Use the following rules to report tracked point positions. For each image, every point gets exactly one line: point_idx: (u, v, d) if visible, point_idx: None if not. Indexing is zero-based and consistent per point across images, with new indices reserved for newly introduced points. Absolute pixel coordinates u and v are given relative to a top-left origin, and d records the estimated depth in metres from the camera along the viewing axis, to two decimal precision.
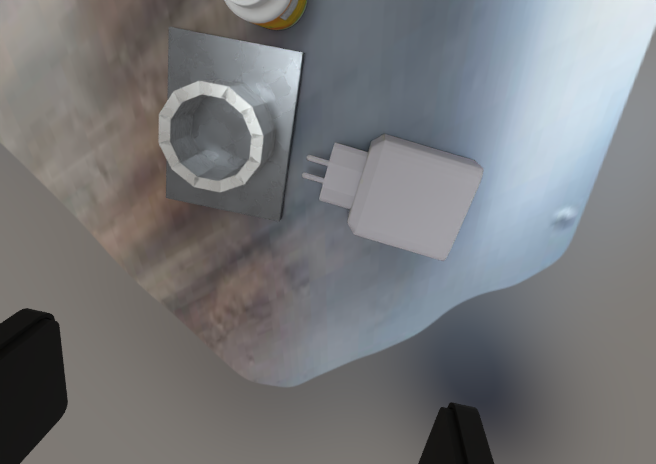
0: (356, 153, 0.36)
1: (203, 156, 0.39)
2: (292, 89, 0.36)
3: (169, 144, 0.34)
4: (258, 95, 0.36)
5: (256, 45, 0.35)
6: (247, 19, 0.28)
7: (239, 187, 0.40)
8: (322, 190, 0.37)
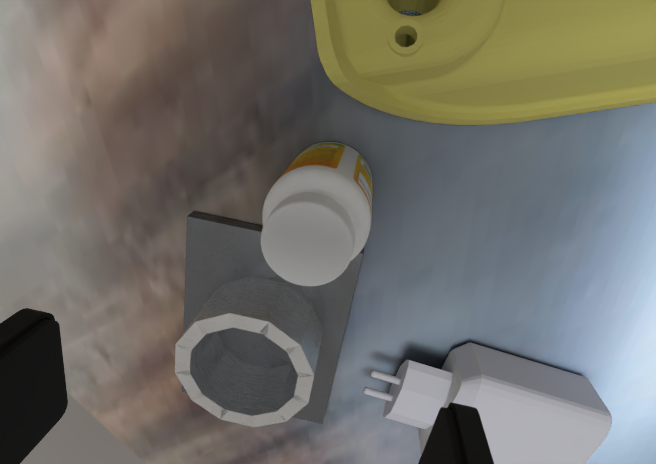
0: (437, 376, 0.28)
1: (229, 354, 0.31)
2: (347, 292, 0.27)
3: (188, 374, 0.26)
4: (302, 296, 0.28)
5: None
6: None
7: None
8: (390, 414, 0.29)
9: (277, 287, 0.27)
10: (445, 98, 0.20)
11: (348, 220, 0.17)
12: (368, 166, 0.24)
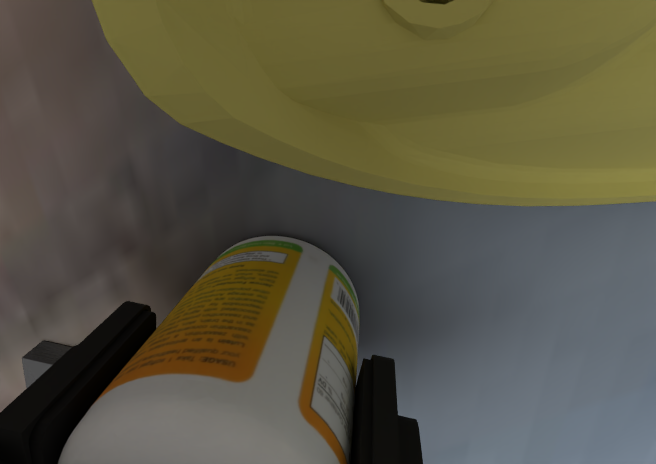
0: None
1: None
2: None
3: None
4: None
5: None
6: None
7: None
8: None
9: None
10: (517, 154, 0.08)
11: None
12: (350, 284, 0.12)
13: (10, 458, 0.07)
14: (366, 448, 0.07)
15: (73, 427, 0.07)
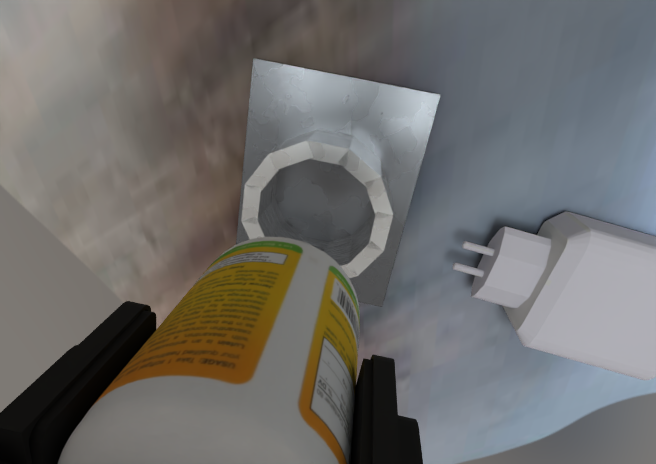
0: (535, 241, 0.26)
1: (287, 225, 0.29)
2: (419, 143, 0.26)
3: (255, 223, 0.25)
4: (371, 150, 0.27)
5: (375, 84, 0.25)
6: None
7: None
8: (483, 288, 0.27)
9: (347, 136, 0.26)
10: None
11: None
12: (350, 285, 0.12)
13: (10, 458, 0.07)
14: (366, 448, 0.07)
15: (73, 427, 0.07)
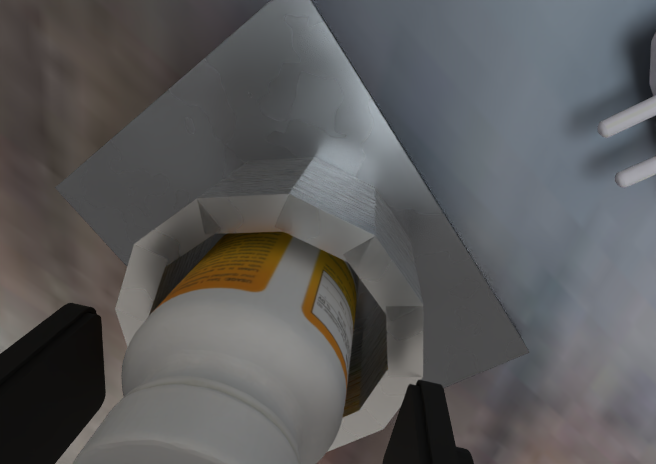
0: None
1: None
2: (342, 78, 0.13)
3: None
4: (289, 157, 0.14)
5: (202, 66, 0.13)
6: None
7: None
8: None
9: None
10: None
11: (274, 452, 0.07)
12: None
13: None
14: None
15: None
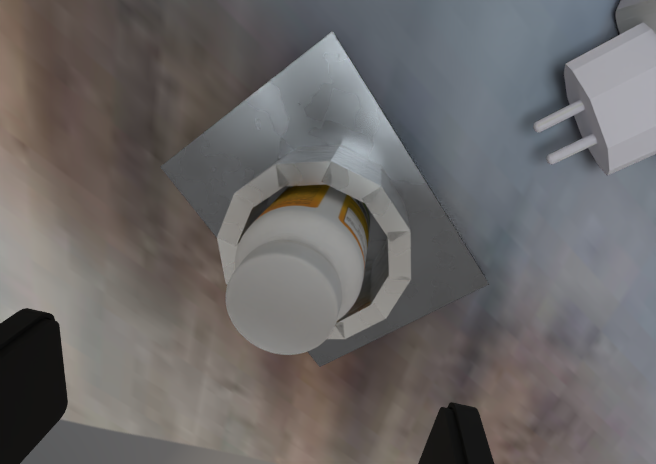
0: (624, 42, 0.17)
1: None
2: (360, 93, 0.20)
3: None
4: (323, 145, 0.21)
5: (268, 85, 0.20)
6: None
7: None
8: (611, 153, 0.18)
9: (287, 154, 0.21)
10: None
11: (330, 271, 0.14)
12: None
13: None
14: None
15: None
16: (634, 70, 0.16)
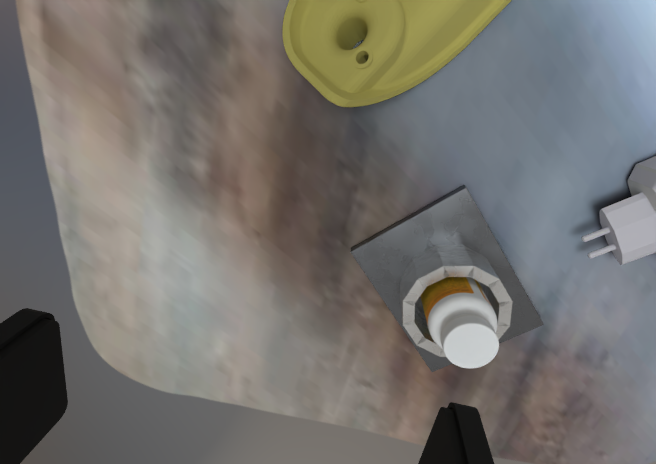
0: (632, 202, 0.32)
1: None
2: (478, 219, 0.36)
3: (425, 340, 0.36)
4: (453, 244, 0.37)
5: (425, 212, 0.36)
6: None
7: None
8: (623, 256, 0.33)
9: (433, 250, 0.36)
10: (409, 69, 0.30)
11: (493, 329, 0.29)
12: None
13: None
14: None
15: None
16: (637, 217, 0.32)
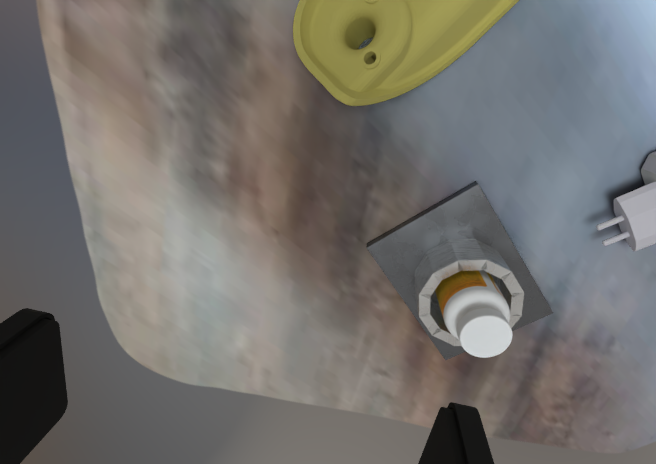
0: (646, 191, 0.33)
1: None
2: (489, 214, 0.37)
3: (440, 330, 0.37)
4: (465, 239, 0.38)
5: (438, 208, 0.37)
6: None
7: None
8: (637, 243, 0.35)
9: (446, 244, 0.38)
10: (414, 69, 0.31)
11: (507, 320, 0.31)
12: None
13: None
14: None
15: None
16: (651, 206, 0.33)
